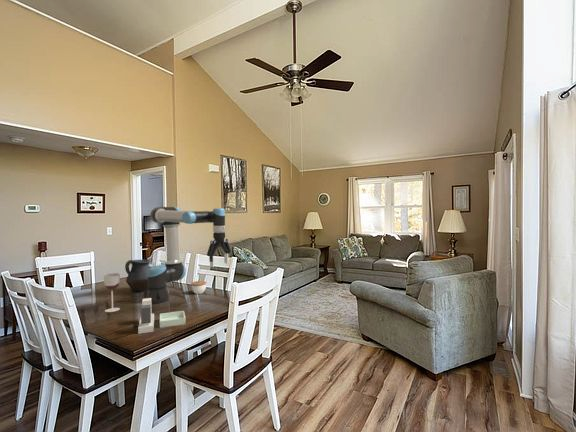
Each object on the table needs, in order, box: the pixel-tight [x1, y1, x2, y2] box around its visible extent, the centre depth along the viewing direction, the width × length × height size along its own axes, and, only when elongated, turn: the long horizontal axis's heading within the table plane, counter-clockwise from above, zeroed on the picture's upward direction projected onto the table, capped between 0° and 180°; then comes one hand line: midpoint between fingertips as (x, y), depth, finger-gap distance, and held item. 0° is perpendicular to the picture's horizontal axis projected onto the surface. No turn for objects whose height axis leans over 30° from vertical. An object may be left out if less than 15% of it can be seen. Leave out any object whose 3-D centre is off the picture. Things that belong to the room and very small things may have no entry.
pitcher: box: [124, 259, 151, 294], centre depth 232 cm, size 21×22×25 cm
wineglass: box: [103, 272, 121, 313], centre depth 189 cm, size 9×10×22 cm
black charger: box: [140, 305, 152, 324], centre depth 157 cm, size 5×4×9 cm
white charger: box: [141, 297, 153, 314], centre depth 169 cm, size 5×4×9 cm
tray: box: [159, 310, 187, 329], centre depth 168 cm, size 13×13×4 cm
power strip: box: [137, 313, 155, 335], centre depth 166 cm, size 26×7×4 cm, turn 23°
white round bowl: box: [191, 280, 207, 295], centre depth 227 cm, size 11×11×9 cm
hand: (219, 265), depth 195 cm, fingers open, 13 cm apart
